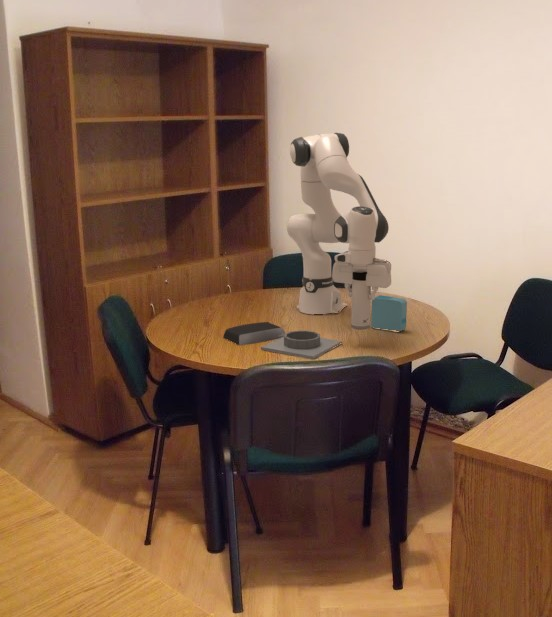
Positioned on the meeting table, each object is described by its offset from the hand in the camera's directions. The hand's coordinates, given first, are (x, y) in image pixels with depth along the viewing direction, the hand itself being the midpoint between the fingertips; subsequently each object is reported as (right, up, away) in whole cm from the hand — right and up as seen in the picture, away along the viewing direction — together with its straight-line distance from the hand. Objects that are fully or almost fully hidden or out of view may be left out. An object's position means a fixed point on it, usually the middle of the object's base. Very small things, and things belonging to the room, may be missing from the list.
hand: (361, 297), depth 240 cm
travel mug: (0, -10, +3) cm, 10 cm away
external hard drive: (-36, -14, +15) cm, 41 cm away
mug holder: (-20, -17, +3) cm, 26 cm away
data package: (+13, -12, +23) cm, 29 cm away
